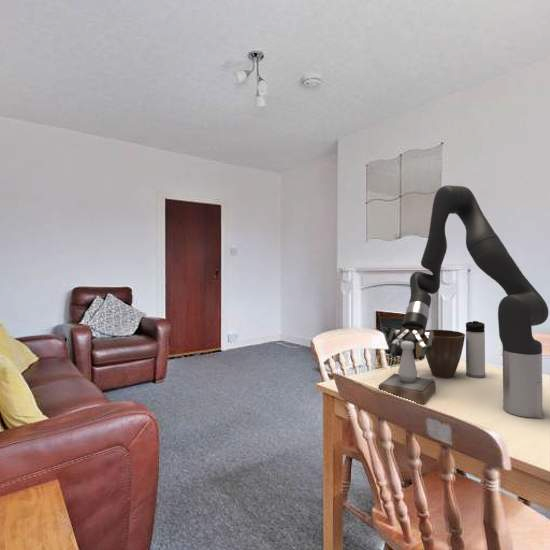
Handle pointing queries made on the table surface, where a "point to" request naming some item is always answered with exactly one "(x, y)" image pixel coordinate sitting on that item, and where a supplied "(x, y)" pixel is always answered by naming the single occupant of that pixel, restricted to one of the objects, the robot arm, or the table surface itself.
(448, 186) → the robot arm
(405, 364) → the salt shaker
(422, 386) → the plinth
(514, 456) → the table surface
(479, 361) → the travel mug
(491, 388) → the table surface
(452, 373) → the plant pot
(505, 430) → the table surface
